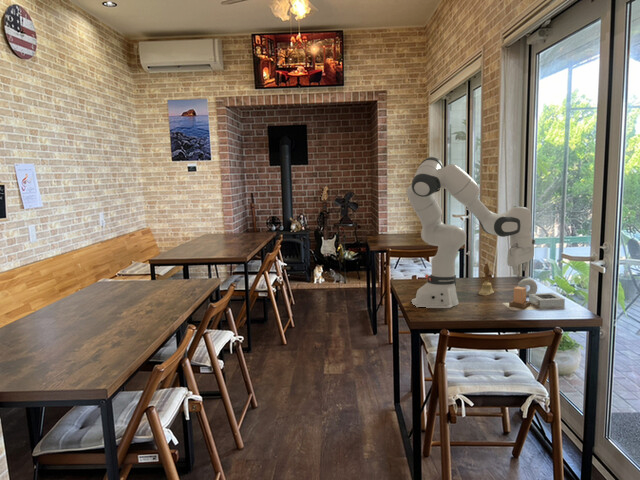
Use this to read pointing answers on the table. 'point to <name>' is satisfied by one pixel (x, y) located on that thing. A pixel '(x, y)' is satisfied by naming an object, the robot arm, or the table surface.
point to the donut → (531, 283)
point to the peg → (520, 295)
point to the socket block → (546, 300)
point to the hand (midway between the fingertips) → (520, 272)
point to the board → (525, 308)
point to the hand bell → (486, 283)
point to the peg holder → (518, 305)
